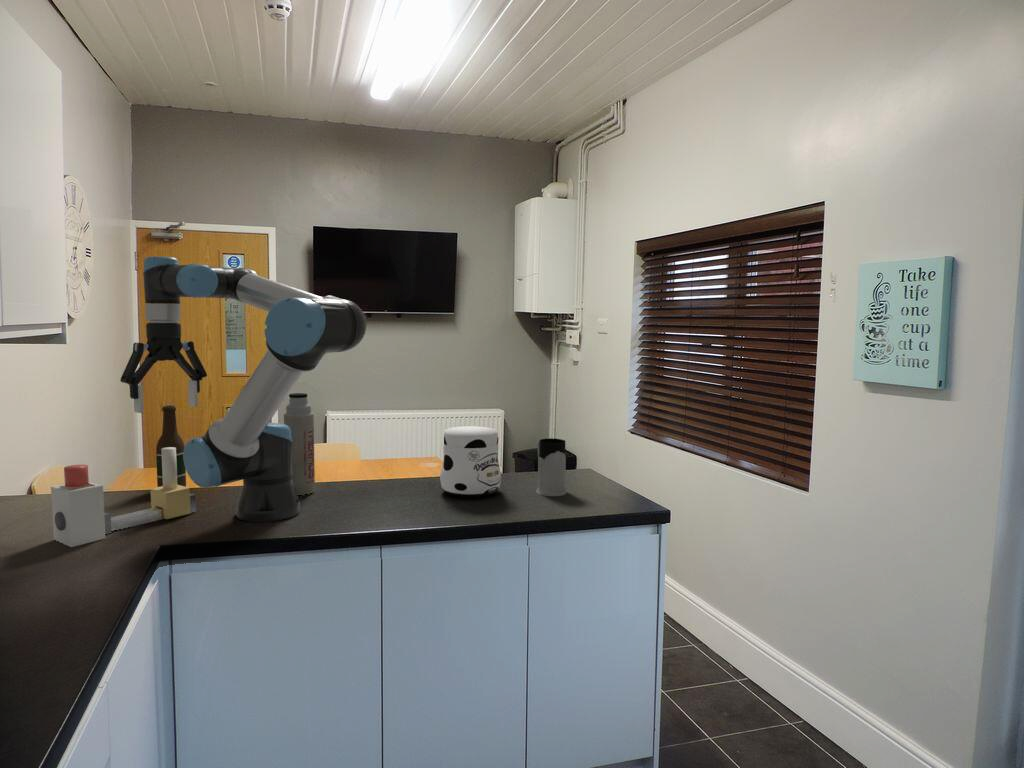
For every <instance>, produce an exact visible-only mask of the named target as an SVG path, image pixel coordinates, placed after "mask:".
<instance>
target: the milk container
mask: <svg viewBox="0 0 1024 768" xmlns="http://www.w3.org/2000/svg"><path fill="white" fill-rule="evenodd" d="M498 431H499V430H498V429H496V428H493V427H487V426H479V425H478V426H477V425H474V426H473V425H472V426H469V425H468V426H461V425H460V426H454V427H453V426H452V427H449V428H446V429H444V433H443V444H442V445H443V447H442V448H443V459H442V460H443V461H442V466H441V468H440V474H439V479H440V485H441V486H440V487H441V489H442V490H443V491H444V492H445V493H447V494H449V495H453V496H456V497H463V498H467V497H468V498H474V497H475V498H477V497H484V496H488V495H489V496H490V495H491V494H494V493H496V492H497V491H498V490H499V489H500V487H501V482H502V472H501V467H500V464H499V432H498Z"/></svg>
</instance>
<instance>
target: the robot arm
mask: <svg viewBox="0 0 1024 768" xmlns="http://www.w3.org/2000/svg"><path fill="white" fill-rule="evenodd" d="M142 272H143V273H142V275H143V287H144V288H143V289H144V307H145V320H146V321H148V322H147V323H146V324H145V329H146V330H145V332H146V334H145V335H146V339H147V342H146V343H143V342H134V343H133V344H132V352H131V355H130V357H129V359H128V361H127V363H126V366H125V368H124V370H123V373H122V375H121V377H120V380H119V381H120V382H121V383H124V384H128V386H129V397H130V399H132V400H133V411H134V413H138V414H143V413H144V412H145V411H144V391H143V390H144V389H143V388H144V387H143V385H142V384H140V383H141V382H142V380H144V378H145V376H146V375H147V373H148V372H149V371H150V370H151V369H152V368H153V366H154V365H155V363H157V362H159V361H160V362H163V361H165V362H166V361H174V362H175V363H177V365H178V366H179V367H180V368H181V369H182V371H183V372H185V373H186V375H187V376H188V377H189V378H190V379H189V380H187V392H188V393H187V395H188V396H187V397H188V398H187V399H188V407H194V408H197V407H198V403H199V402H198V394H199V393H200V391H201V388H200V386H201V385H200V384H201V383H200V382H201V381H202V380H203V379H204V378H206V377H207V376H208V374H207V372H206V369H205V367H204V365H203V363H202V361H201V360H200V358H199V356H198V354H197V352H196V350H195V344H194V342H193V340H191V341H189V340H185V341H184V342H182V341H181V339H182V323H180V322H179V321H181V319H182V316H181V315H182V313H181V300H180V299H181V298H193V299H197V298H207V299H208V298H209V299H215V298H216V299H229V300H230V299H232V300H234V301H238V302H241V303H243V304H246V305H249V306H252V307H254V308H257V309H260V310H263V311H265V312H267V315H266V317H265V322H264V325H265V326H266V328H265V329H264V331H263V332H264V337H265V346H266V349H267V351H266V352H265V354H264V355H263V357H262V359H261V360H260V361H259V363H258V365H257V366H256V368H255V369H254V370H253V373H252V374H251V376H250V377H249V379H248V380H247V382H246V383H245V384H244V386H243V388H242V389H241V391H240V392H239V394H238V396H237V397H236V399H235V400H234V402H233V404H232V405H231V407H229V409H228V411H227V413H226V414H225V416H224V417H223V418H220V419H216V420H215V421H213V422H212V423H211V425H210V426H209V427H208V429H207V430H206V432H205V433H204V435H202V436H201V437H197V436H196V437H194V438H191V439H189V440H188V441H187V442H186V444H184V447H185V448H184V453H183V459H184V465H185V468H186V474H187V475H188V477H189V479H190V480H191V481H192V483H194V484H195V485H196V486H198V487H199V488H204V489H209V488H217V487H220V486H224V485H228V484H231V483H235V482H238V481H239V482H240V481H243V482H242V488H241V492H240V494H239V499H238V501H237V504H236V514H235V515H236V518H238V519H239V520H241V521H242V520H243V521H245V522H255V523H259V522H260V523H264V522H275V521H280V520H286V519H288V518H289V519H290V518H292V517H294V516H297V515H298V514H300V512H301V501H300V500H299V496H297V493H296V490H295V487H294V485H293V481H292V439H291V429H290V427H289V426H287V425H285V424H284V423H278V422H277V423H276V422H271V420H272V418H273V417H274V416H275V414H276V413H277V411H278V410H279V408H280V407H281V405H282V404H283V402H284V401H285V400H286V398H287V397H288V396H289V394H290V393H291V391H292V390H293V388H294V387H295V385H296V384H297V382H298V381H299V379H300V378H301V376H302V375H303V373H305V372H308V373H309V372H311V371H313V370H314V369H316V367H317V366H318V364H320V361H321V360H322V359H323V358H324V356H325V355H326V354H332V353H342V352H344V353H345V352H346V351H349V350H352V349H354V348H355V347H357V346H358V345H359V344H360V343H361V342H362V340H363V339H364V337H365V335H366V330H367V319H366V315H365V313H364V311H363V310H362V309H361V307H360V306H359V305H358V304H357V303H355V302H353V301H351V300H349V299H348V300H347V299H343V298H339V297H336V296H334V295H325V296H320V295H317V294H314V293H311V292H309V291H305V290H302V289H299V288H297V287H293V286H290V285H287V284H284V283H281V282H279V281H275V280H273V279H269V278H266V277H263V276H261V275H259V274H258V273H257V272H256V271H255V270H253V269H248V268H243V267H239V268H237V267H223V266H222V267H221V266H211V265H206V264H201V263H189V264H179V260H178V258H176V257H173V256H172V257H171V256H152V255H151V256H147V257H145V258H144V260H143V271H142ZM146 350H147V352H148V354H147V355H146V356H145V358H144V360H143V362H142V363H141V364H140V362H141V359H142V357H143V356H144V352H146ZM181 350H183V351H184V352H185V354H186V356H187V359H188V361H189V362H190V363H189V362H188V361H187V360H186V358H185V356H184V355H183V354H182V352H181ZM139 364H140V365H139Z"/></svg>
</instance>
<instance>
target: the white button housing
mask: <svg viewBox="0 0 1024 768" xmlns="http://www.w3.org/2000/svg"><path fill="white" fill-rule="evenodd" d="M50 495H51V496H50V497H51V498H50V499H51V513H52V514H51V515H52V516H51V517H52V530H53V531H52V532H53V540H54V541H55V540H56V542H58V541H59V543H60V544H62V543H63V545H65V546H68V547H70V548H73V547H77V546H82V545H86V544H90V543H93V542H97V541H101V540H105V539H106V537H107V536H106V535H105V515H104V512H105V500H104V497H105V496H104V485H102V484H99V483H95V482H92V481H89V484H88V485H85V486H80V487H65V483H63V484H58V485H57V484H56V485H52V486H50Z"/></svg>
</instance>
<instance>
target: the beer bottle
mask: <svg viewBox="0 0 1024 768" xmlns="http://www.w3.org/2000/svg"><path fill="white" fill-rule="evenodd" d="M161 411H162V431H161V436H159V439H158V440H157V443H156V447H155V449H156V450H155V454H156V455H155V458H156V461H155V462H156V482H157V486H156V487H161V486H163V477H162V452H161V449H162V448H167V447H175V448H176V462H177V485H181V486H184V487H187V471H186V468H185V465H184V459H183V453H184V448H185V443H184V440H183V438H182V437H181V436H180V434H179V432H178V427H177V417H176V416H177V415H176V411H177V407H176V406H175V405H164V406H162V409H161Z"/></svg>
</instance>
